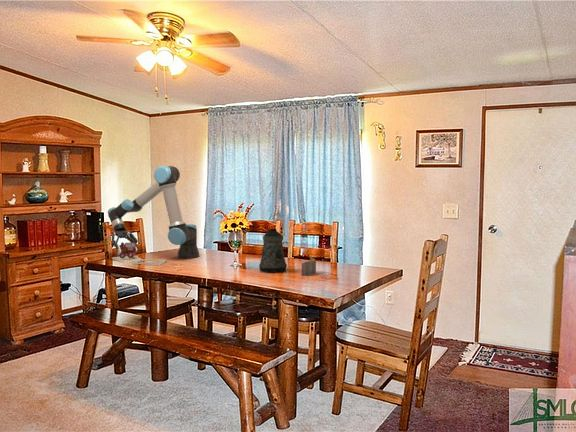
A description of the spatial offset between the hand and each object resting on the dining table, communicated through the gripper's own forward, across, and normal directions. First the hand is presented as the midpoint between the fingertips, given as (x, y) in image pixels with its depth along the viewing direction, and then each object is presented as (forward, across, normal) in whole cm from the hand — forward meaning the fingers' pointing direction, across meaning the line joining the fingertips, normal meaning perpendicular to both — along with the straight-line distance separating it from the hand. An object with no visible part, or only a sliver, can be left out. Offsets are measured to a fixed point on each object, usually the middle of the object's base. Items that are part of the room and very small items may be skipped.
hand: (128, 251), depth 338 cm
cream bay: (+2, 0, -6) cm, 7 cm away
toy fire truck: (+1, 0, -5) cm, 5 cm away
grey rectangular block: (+83, -61, +75) cm, 127 cm away
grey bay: (+18, -6, +10) cm, 21 cm away
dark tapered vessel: (+67, -52, +58) cm, 103 cm away
